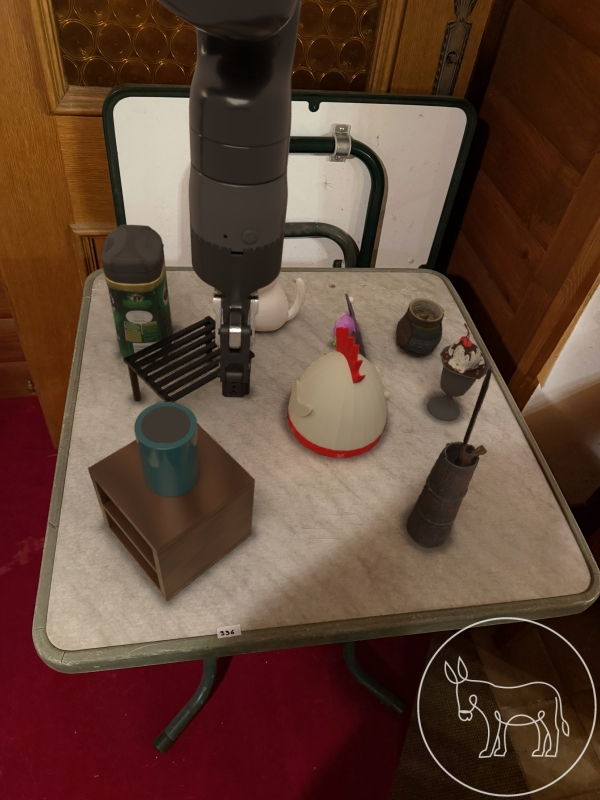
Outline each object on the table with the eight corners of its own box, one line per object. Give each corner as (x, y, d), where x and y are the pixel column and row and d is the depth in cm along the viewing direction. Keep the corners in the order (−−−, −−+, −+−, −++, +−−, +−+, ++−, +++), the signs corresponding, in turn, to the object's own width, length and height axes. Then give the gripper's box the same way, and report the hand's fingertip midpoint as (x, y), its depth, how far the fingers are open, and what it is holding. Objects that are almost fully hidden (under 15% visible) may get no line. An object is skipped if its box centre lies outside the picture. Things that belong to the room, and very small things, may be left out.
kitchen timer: (361, 376, 86) (381, 298, 75) (399, 446, 78) (428, 370, 66) (274, 391, 82) (282, 312, 71) (305, 467, 74) (319, 390, 63)
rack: (173, 442, 74) (168, 403, 68) (130, 398, 78) (122, 358, 73) (253, 393, 81) (255, 353, 75) (210, 355, 86) (209, 315, 80)
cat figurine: (225, 302, 94) (225, 223, 83) (299, 303, 96) (308, 225, 85) (226, 339, 88) (226, 258, 77) (304, 339, 90) (316, 260, 79)
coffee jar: (123, 322, 89) (104, 216, 75) (174, 323, 90) (165, 219, 76) (115, 366, 82) (93, 259, 68) (171, 366, 83) (159, 261, 69)
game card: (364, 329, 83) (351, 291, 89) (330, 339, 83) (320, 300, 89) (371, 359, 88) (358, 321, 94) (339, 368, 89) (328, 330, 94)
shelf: (166, 601, 60) (156, 550, 51) (106, 526, 65) (87, 467, 56) (251, 535, 67) (255, 479, 58) (189, 470, 72) (184, 410, 63)
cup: (165, 507, 54) (157, 459, 48) (132, 471, 57) (121, 420, 51) (211, 476, 57) (209, 427, 51) (178, 442, 60) (173, 392, 54)
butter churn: (462, 494, 73) (557, 335, 52) (478, 563, 67) (592, 413, 46) (393, 491, 73) (461, 328, 52) (402, 560, 66) (484, 406, 45)
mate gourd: (432, 334, 94) (450, 286, 87) (439, 366, 89) (458, 317, 82) (390, 330, 94) (404, 281, 86) (394, 362, 89) (410, 313, 81)
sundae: (426, 386, 86) (456, 310, 75) (469, 400, 85) (506, 325, 74) (416, 415, 82) (446, 339, 70) (461, 431, 81) (499, 357, 69)
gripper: (195, 170, 48) (200, 315, 60) (182, 269, 39) (191, 417, 51) (281, 176, 49) (269, 318, 61) (290, 275, 40) (273, 419, 52)
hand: (234, 363), depth 56 cm, fingers open, 8 cm apart
